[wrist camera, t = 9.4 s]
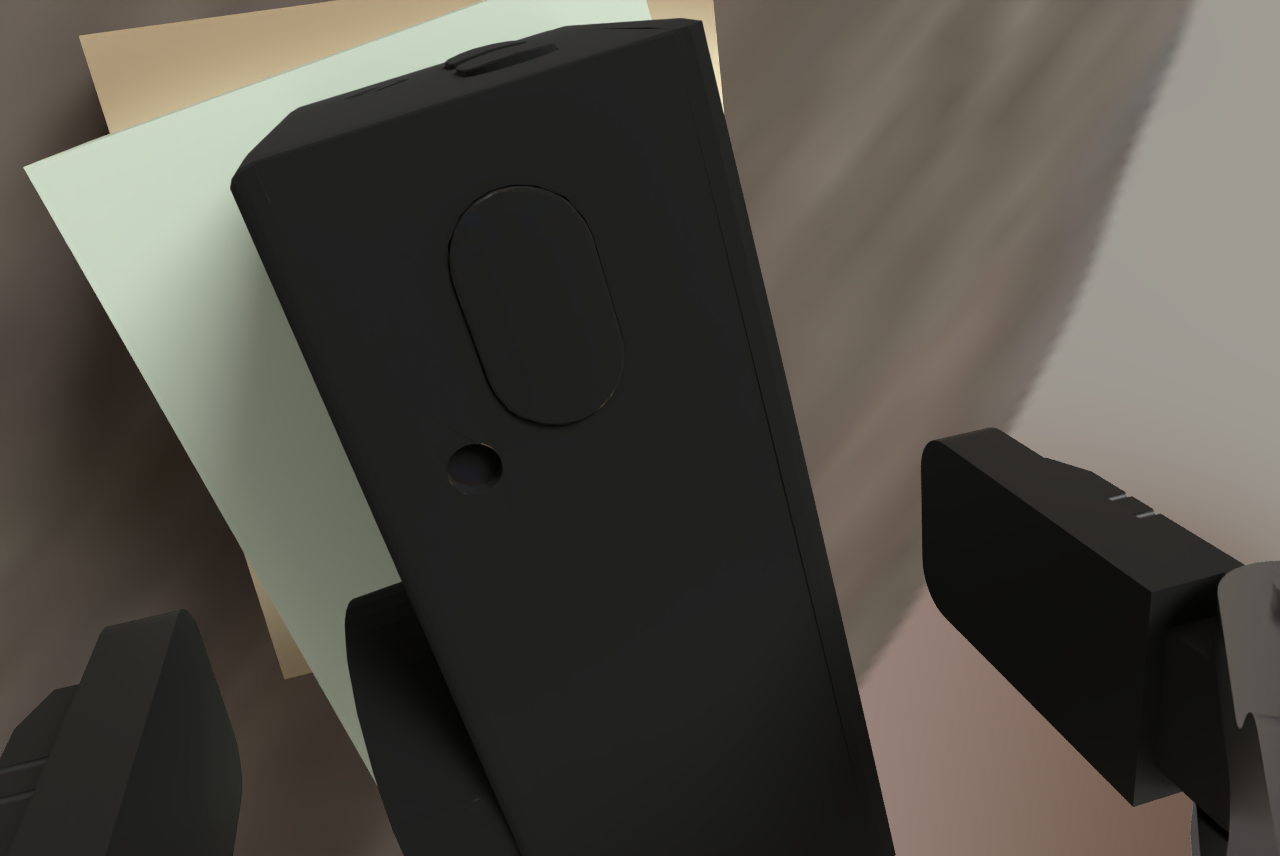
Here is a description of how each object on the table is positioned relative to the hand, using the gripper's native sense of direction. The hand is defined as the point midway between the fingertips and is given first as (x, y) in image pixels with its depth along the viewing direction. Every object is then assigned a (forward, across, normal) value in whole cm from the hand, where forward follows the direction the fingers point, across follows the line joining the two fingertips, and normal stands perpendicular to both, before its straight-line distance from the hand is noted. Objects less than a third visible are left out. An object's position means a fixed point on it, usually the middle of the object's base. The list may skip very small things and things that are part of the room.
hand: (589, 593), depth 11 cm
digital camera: (+7, 0, 0) cm, 7 cm away
